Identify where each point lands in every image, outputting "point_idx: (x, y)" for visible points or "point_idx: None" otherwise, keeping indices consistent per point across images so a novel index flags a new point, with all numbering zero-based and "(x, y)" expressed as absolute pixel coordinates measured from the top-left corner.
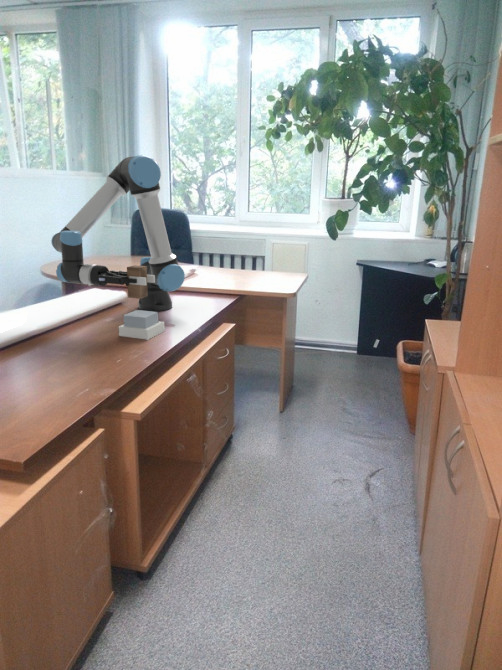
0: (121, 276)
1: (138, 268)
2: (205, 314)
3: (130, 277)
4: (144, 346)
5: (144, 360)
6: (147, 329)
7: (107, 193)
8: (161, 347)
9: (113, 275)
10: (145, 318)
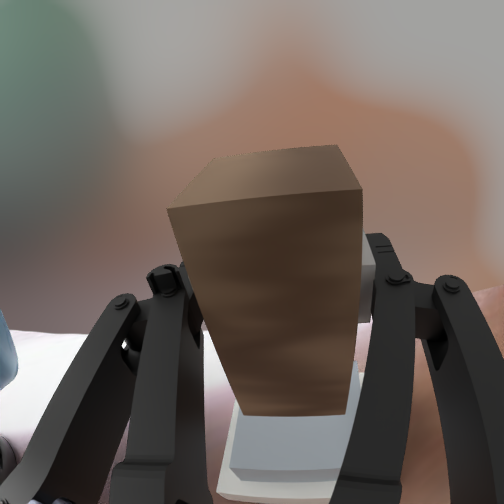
0: (412, 328)
1: (338, 148)
2: (64, 349)
3: (371, 263)
4: (418, 363)
5: (480, 306)
6: (360, 375)
7: None
8: None
9: (396, 483)
10: (356, 362)
